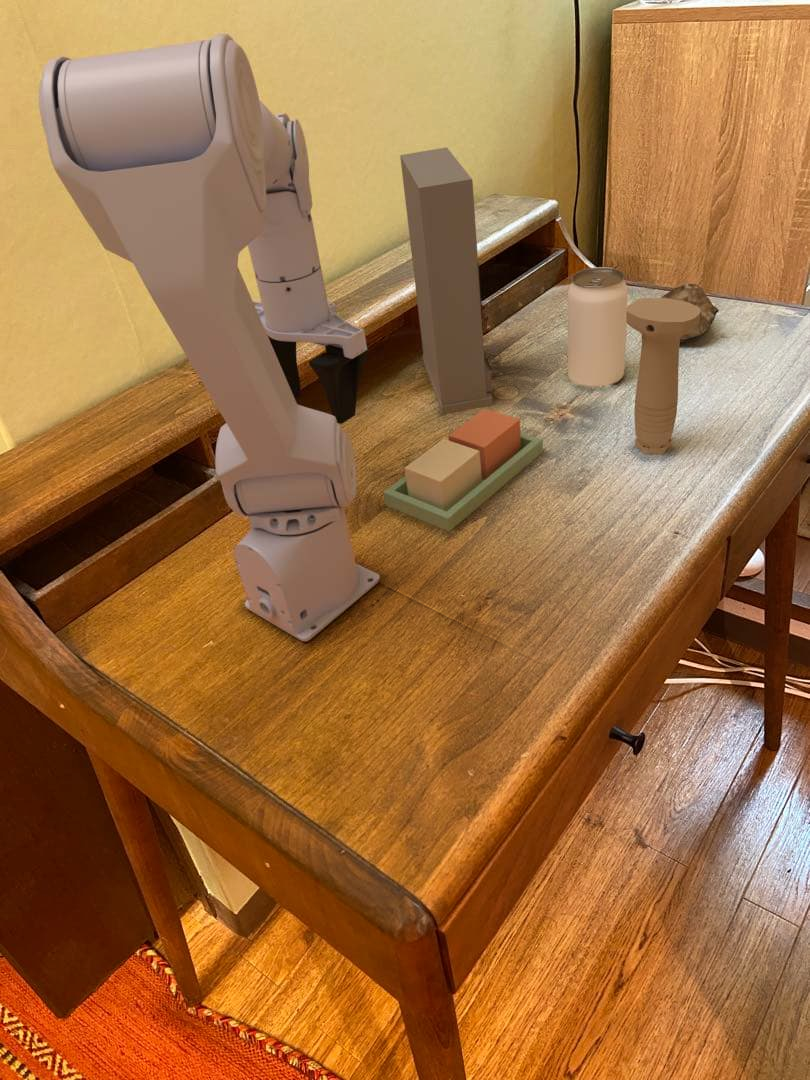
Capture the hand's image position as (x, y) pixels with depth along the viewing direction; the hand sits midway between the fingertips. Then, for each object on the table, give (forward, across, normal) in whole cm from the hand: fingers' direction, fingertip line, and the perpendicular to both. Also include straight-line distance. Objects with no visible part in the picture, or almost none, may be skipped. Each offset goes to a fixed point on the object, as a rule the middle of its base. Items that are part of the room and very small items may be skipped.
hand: (317, 408), depth 79 cm
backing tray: (+9, -11, -8) cm, 17 cm away
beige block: (+9, -11, -5) cm, 15 cm away
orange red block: (+9, -11, -12) cm, 18 cm away
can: (+10, -11, -33) cm, 36 cm away
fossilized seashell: (+10, -14, -48) cm, 51 cm away
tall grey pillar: (+10, +2, -24) cm, 25 cm away
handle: (+10, -24, -22) cm, 34 cm away
